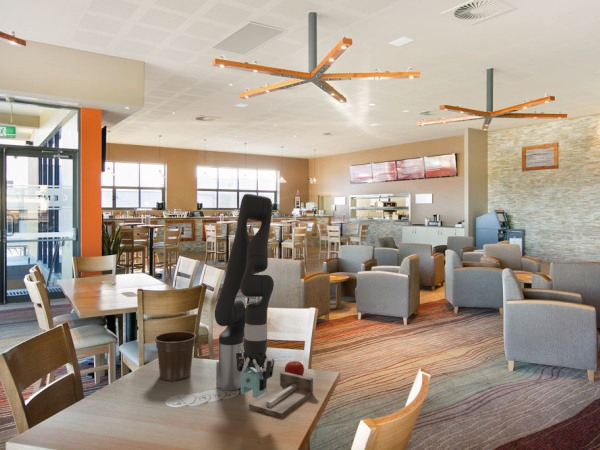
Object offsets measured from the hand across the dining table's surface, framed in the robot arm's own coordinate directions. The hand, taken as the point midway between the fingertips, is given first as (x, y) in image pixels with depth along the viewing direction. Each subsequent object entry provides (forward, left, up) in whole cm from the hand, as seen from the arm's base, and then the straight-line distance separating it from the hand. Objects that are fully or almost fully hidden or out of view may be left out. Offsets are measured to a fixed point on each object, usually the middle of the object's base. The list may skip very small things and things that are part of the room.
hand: (254, 387), depth 143 cm
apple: (-5, +35, -11) cm, 37 cm away
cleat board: (+1, +16, -10) cm, 20 cm away
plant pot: (-49, +14, -11) cm, 52 cm away
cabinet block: (0, 0, -2) cm, 2 cm away
